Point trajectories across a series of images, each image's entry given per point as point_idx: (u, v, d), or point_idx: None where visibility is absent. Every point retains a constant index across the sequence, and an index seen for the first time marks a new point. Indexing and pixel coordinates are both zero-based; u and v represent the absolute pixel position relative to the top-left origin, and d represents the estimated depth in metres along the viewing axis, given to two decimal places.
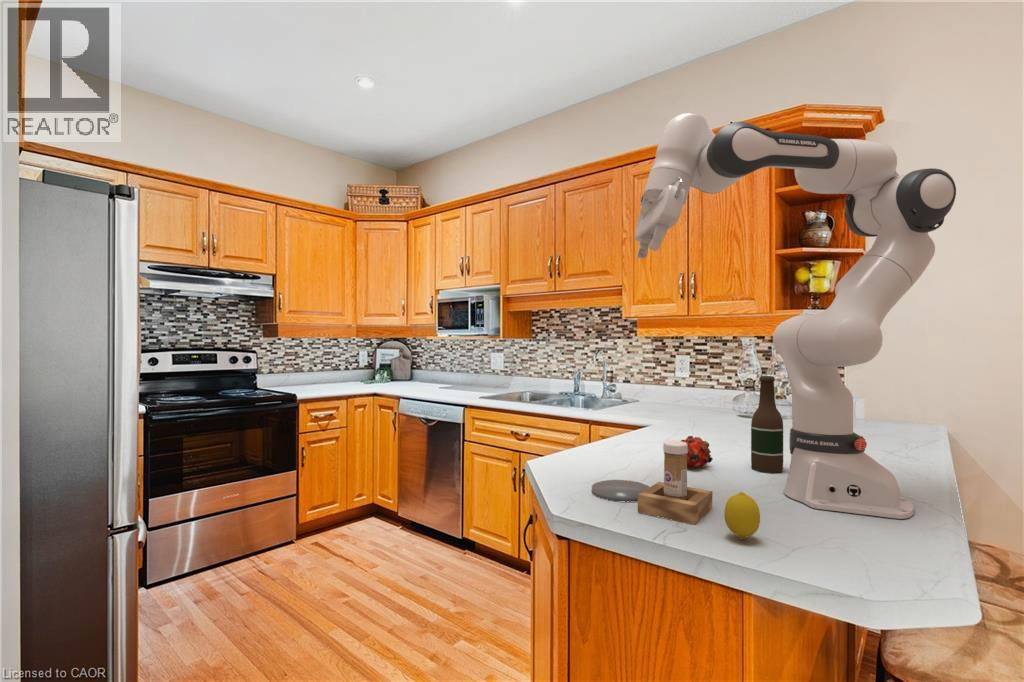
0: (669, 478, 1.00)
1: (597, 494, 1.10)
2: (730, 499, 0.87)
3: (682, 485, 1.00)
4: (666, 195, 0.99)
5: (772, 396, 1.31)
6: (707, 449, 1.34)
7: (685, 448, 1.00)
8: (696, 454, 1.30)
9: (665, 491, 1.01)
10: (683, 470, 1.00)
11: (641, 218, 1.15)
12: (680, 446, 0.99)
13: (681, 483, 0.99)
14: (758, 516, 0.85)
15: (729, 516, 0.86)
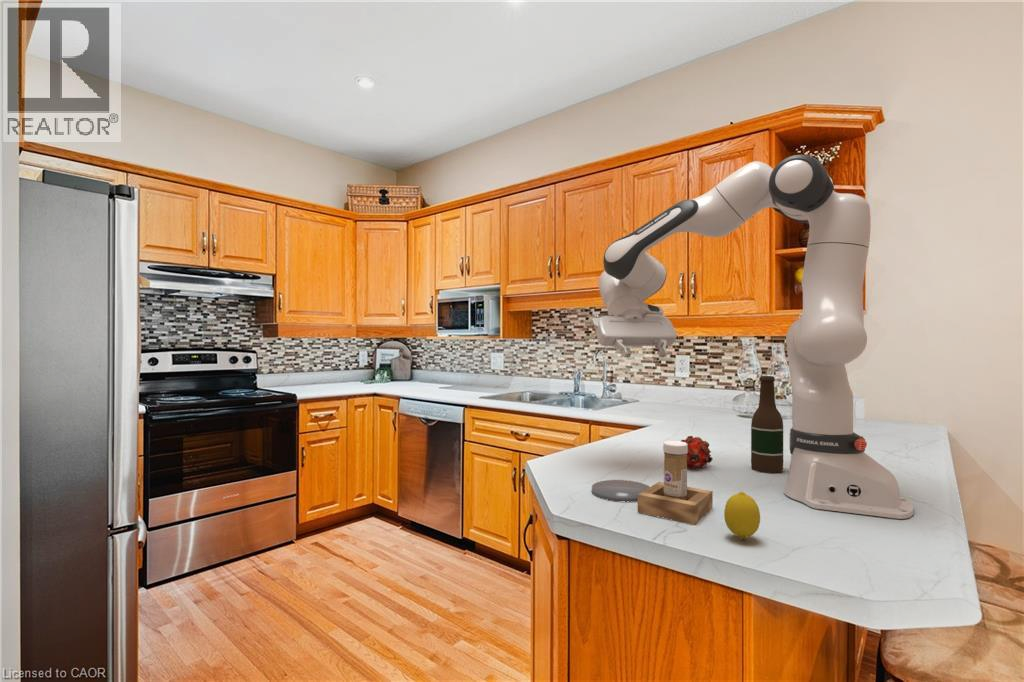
0: (669, 478, 1.00)
1: (597, 494, 1.10)
2: (730, 499, 0.87)
3: (682, 485, 1.00)
4: None
5: (772, 396, 1.31)
6: (707, 449, 1.34)
7: (685, 448, 1.00)
8: (696, 454, 1.30)
9: (665, 491, 1.01)
10: (683, 470, 1.00)
11: None
12: (680, 446, 0.99)
13: (681, 483, 0.99)
14: (758, 516, 0.85)
15: (729, 516, 0.86)
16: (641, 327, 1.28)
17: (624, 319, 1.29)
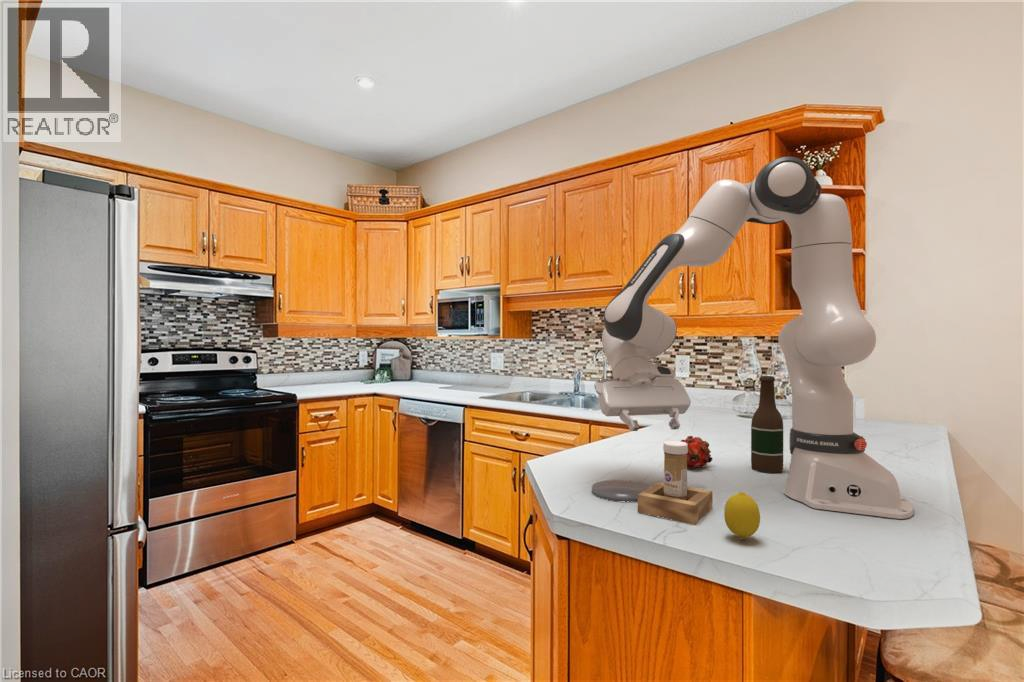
0: (669, 478, 1.00)
1: (597, 494, 1.10)
2: (730, 499, 0.87)
3: (682, 485, 1.00)
4: None
5: (772, 396, 1.31)
6: (707, 449, 1.34)
7: (685, 448, 1.00)
8: (696, 454, 1.30)
9: (665, 491, 1.01)
10: (683, 470, 1.00)
11: None
12: (680, 446, 0.99)
13: (681, 483, 0.99)
14: (758, 516, 0.85)
15: (729, 516, 0.86)
16: (650, 394, 1.13)
17: (631, 384, 1.14)
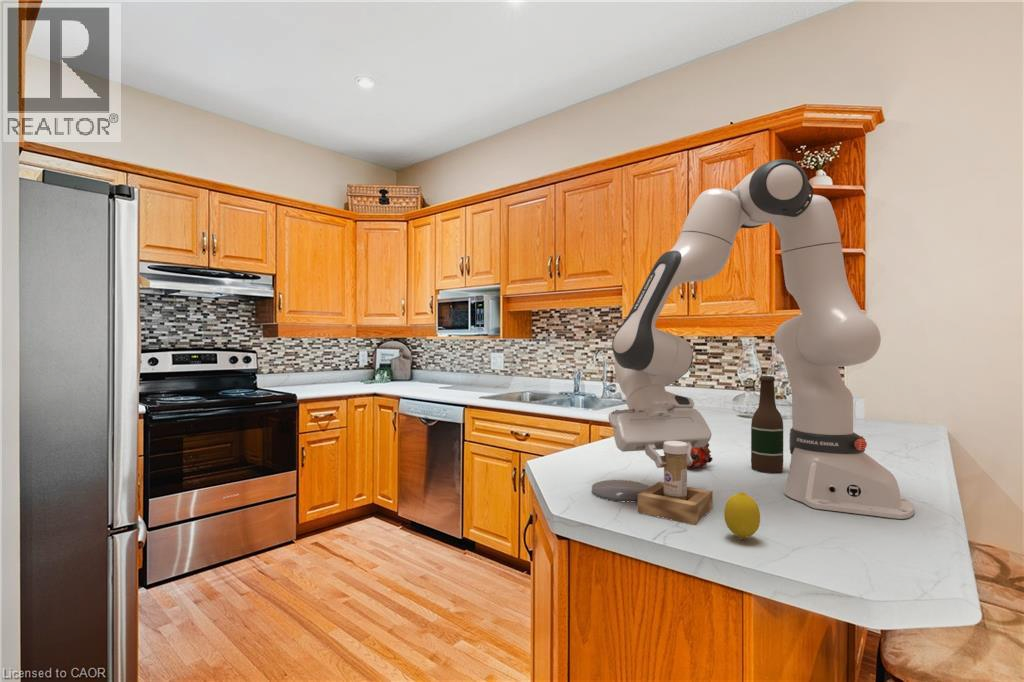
0: (669, 478, 1.00)
1: (597, 494, 1.10)
2: (730, 499, 0.87)
3: (682, 485, 1.00)
4: None
5: (772, 396, 1.31)
6: (707, 449, 1.34)
7: (685, 448, 1.00)
8: (696, 454, 1.30)
9: (665, 491, 1.01)
10: (683, 470, 1.00)
11: None
12: (680, 446, 0.99)
13: (681, 483, 0.99)
14: (758, 516, 0.85)
15: (729, 516, 0.86)
16: (668, 426, 1.06)
17: (647, 416, 1.07)
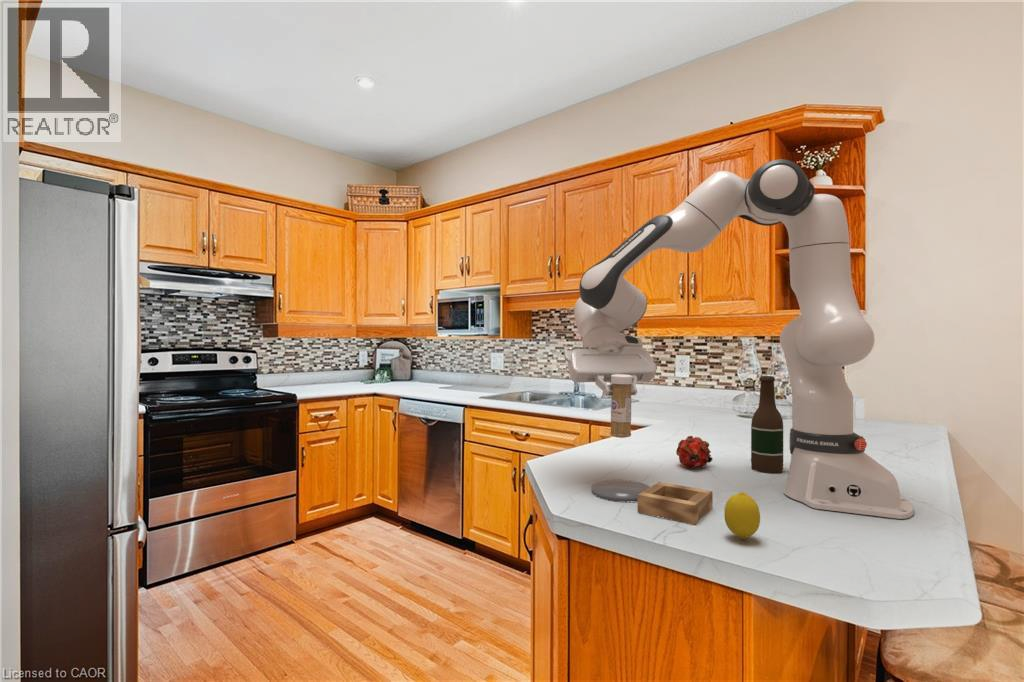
0: (615, 406, 1.12)
1: (597, 494, 1.10)
2: (730, 499, 0.87)
3: (626, 412, 1.11)
4: None
5: (772, 396, 1.31)
6: (707, 449, 1.34)
7: (629, 379, 1.11)
8: (696, 454, 1.30)
9: (611, 418, 1.13)
10: (627, 399, 1.11)
11: None
12: (625, 377, 1.11)
13: (625, 410, 1.11)
14: (758, 516, 0.85)
15: (729, 516, 0.86)
16: (617, 361, 1.17)
17: (599, 352, 1.18)
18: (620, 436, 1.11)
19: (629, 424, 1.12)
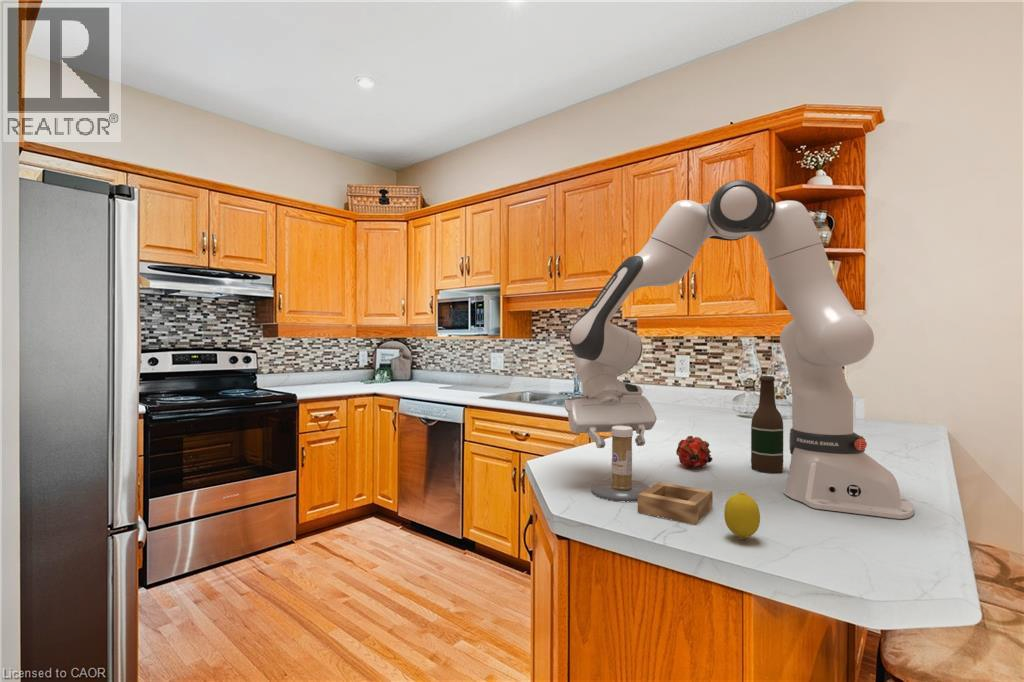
0: (615, 458, 1.12)
1: (597, 494, 1.10)
2: (730, 499, 0.87)
3: (627, 465, 1.11)
4: None
5: (772, 396, 1.31)
6: (707, 449, 1.34)
7: (630, 432, 1.11)
8: (696, 454, 1.30)
9: (612, 470, 1.13)
10: (628, 452, 1.11)
11: None
12: (625, 430, 1.11)
13: (626, 463, 1.11)
14: (758, 516, 0.85)
15: (729, 516, 0.86)
16: (617, 411, 1.18)
17: (599, 402, 1.19)
18: (621, 489, 1.11)
19: (630, 476, 1.12)
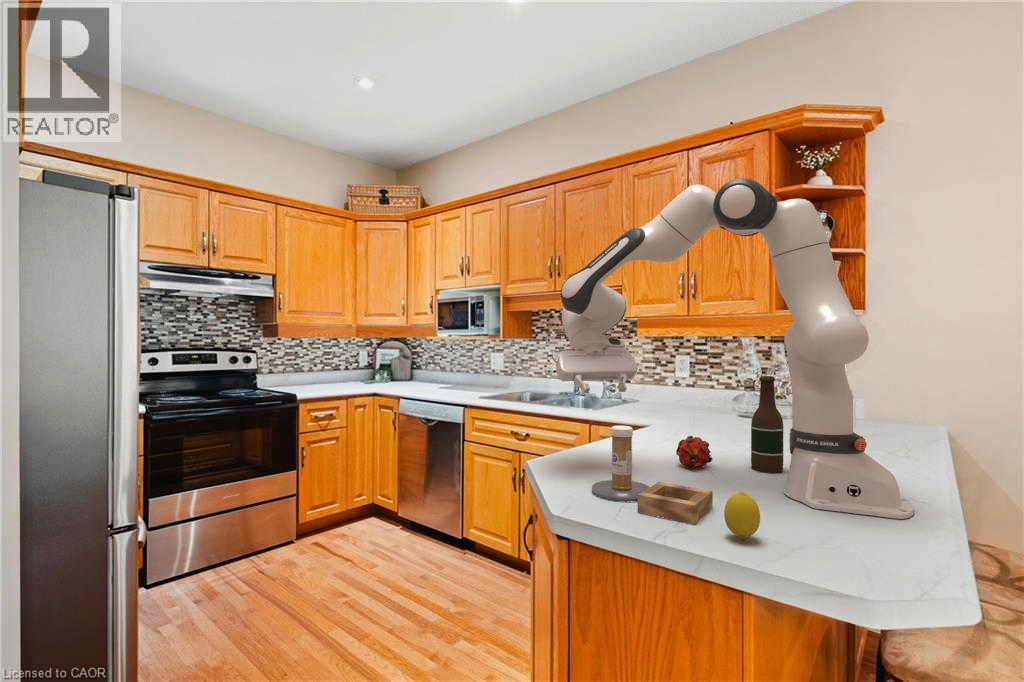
0: (615, 458, 1.12)
1: (597, 494, 1.10)
2: (730, 499, 0.87)
3: (627, 465, 1.11)
4: None
5: (772, 396, 1.31)
6: (707, 449, 1.34)
7: (630, 432, 1.11)
8: (696, 454, 1.30)
9: (612, 470, 1.13)
10: (628, 451, 1.11)
11: None
12: (625, 430, 1.11)
13: (626, 463, 1.11)
14: (758, 516, 0.85)
15: (729, 516, 0.86)
16: (601, 361, 1.28)
17: (584, 353, 1.29)
18: (621, 489, 1.11)
19: (630, 476, 1.12)
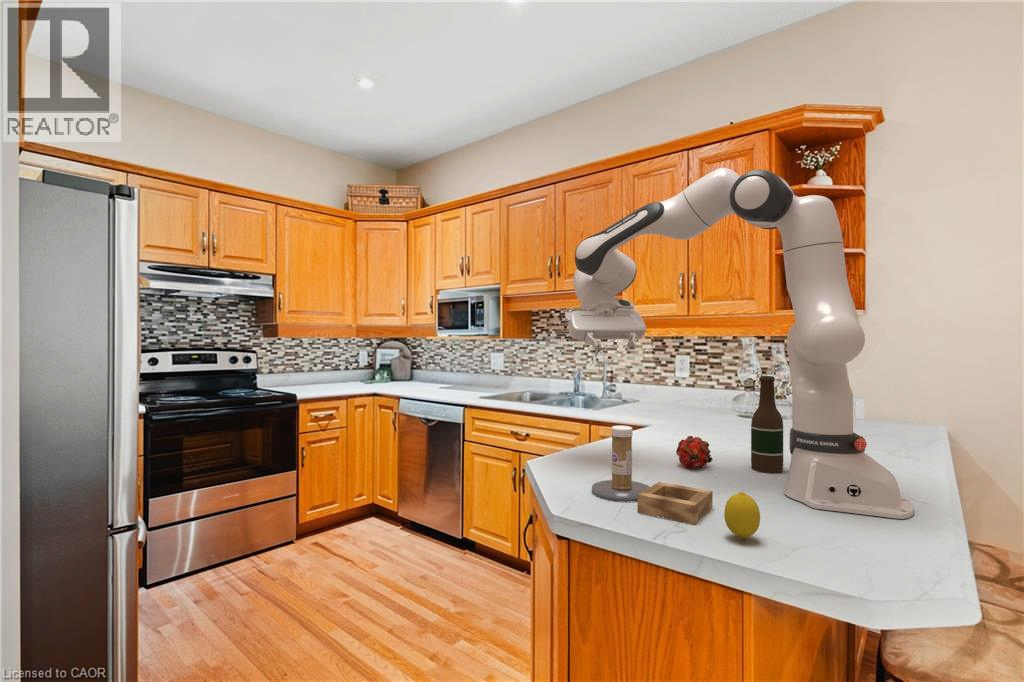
0: (615, 458, 1.12)
1: (597, 494, 1.10)
2: (730, 499, 0.87)
3: (627, 465, 1.11)
4: None
5: (772, 396, 1.31)
6: (707, 449, 1.34)
7: (630, 432, 1.11)
8: (696, 454, 1.30)
9: (612, 470, 1.13)
10: (628, 451, 1.11)
11: None
12: (625, 430, 1.11)
13: (626, 463, 1.11)
14: (758, 516, 0.85)
15: (729, 516, 0.86)
16: (611, 321, 1.33)
17: (595, 313, 1.34)
18: (621, 489, 1.11)
19: (630, 476, 1.12)
